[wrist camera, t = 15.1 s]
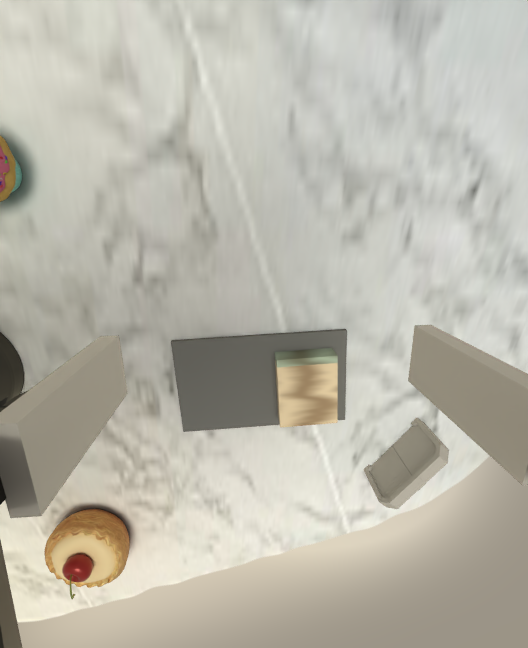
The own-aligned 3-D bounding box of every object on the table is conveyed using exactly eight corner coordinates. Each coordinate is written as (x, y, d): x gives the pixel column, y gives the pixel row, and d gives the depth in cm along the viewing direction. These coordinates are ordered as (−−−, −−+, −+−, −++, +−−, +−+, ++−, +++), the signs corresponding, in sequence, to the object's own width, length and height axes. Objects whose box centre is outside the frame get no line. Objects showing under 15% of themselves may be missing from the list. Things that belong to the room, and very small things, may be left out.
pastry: (129, 498, 52) (106, 551, 43) (140, 555, 55) (120, 615, 46) (52, 503, 51) (13, 558, 43) (67, 561, 55) (34, 622, 46)
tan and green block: (332, 411, 48) (331, 347, 46) (337, 422, 45) (337, 355, 43) (278, 415, 48) (274, 352, 45) (280, 427, 45) (276, 360, 42)
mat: (184, 429, 49) (183, 431, 48) (171, 340, 45) (171, 341, 44) (343, 417, 49) (344, 419, 49) (345, 329, 46) (346, 330, 45)
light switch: (363, 469, 52) (382, 509, 45) (416, 417, 50) (446, 450, 43) (370, 474, 53) (391, 515, 45) (424, 422, 51) (455, 456, 43)
